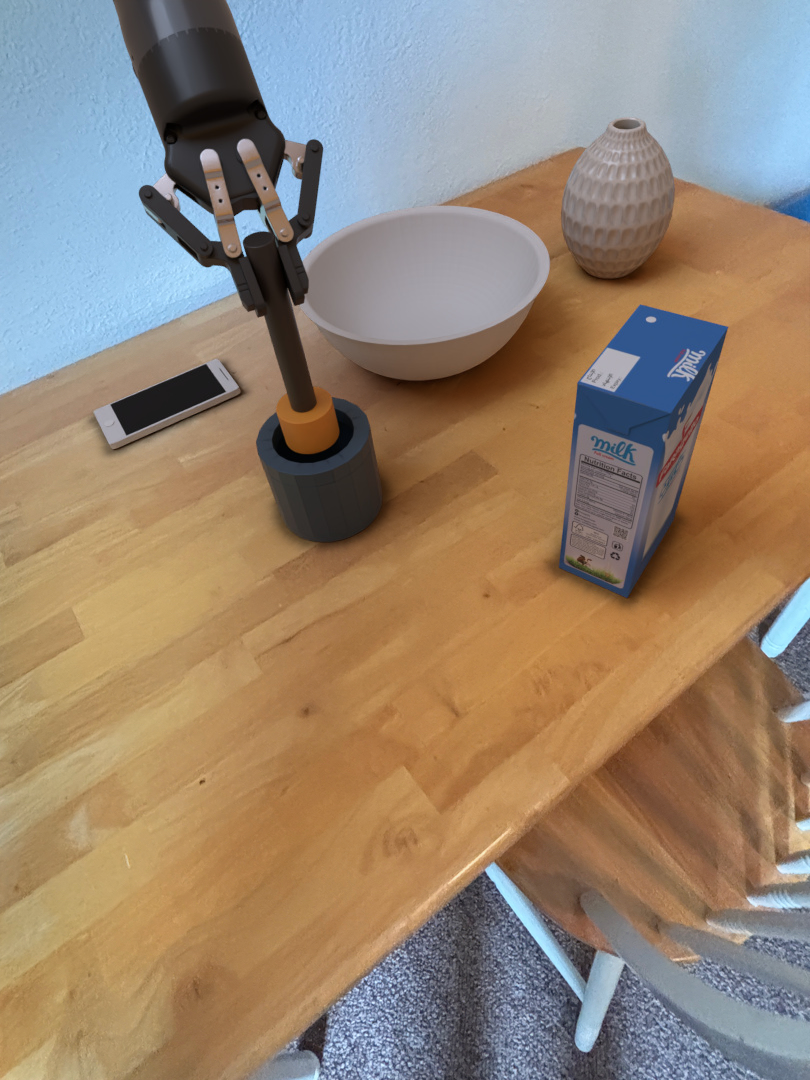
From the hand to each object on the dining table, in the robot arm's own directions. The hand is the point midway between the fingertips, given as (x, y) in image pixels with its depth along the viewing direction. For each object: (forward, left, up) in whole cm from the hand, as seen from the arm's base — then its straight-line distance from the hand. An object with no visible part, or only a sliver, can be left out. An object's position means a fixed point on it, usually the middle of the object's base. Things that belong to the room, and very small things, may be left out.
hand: (281, 306), depth 50 cm
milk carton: (+18, -18, -23) cm, 34 cm away
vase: (+48, +16, -23) cm, 56 cm away
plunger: (0, +2, -14) cm, 14 cm away
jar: (0, +2, -23) cm, 23 cm away
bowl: (+21, +17, -23) cm, 36 cm away
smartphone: (-8, +27, -23) cm, 36 cm away
